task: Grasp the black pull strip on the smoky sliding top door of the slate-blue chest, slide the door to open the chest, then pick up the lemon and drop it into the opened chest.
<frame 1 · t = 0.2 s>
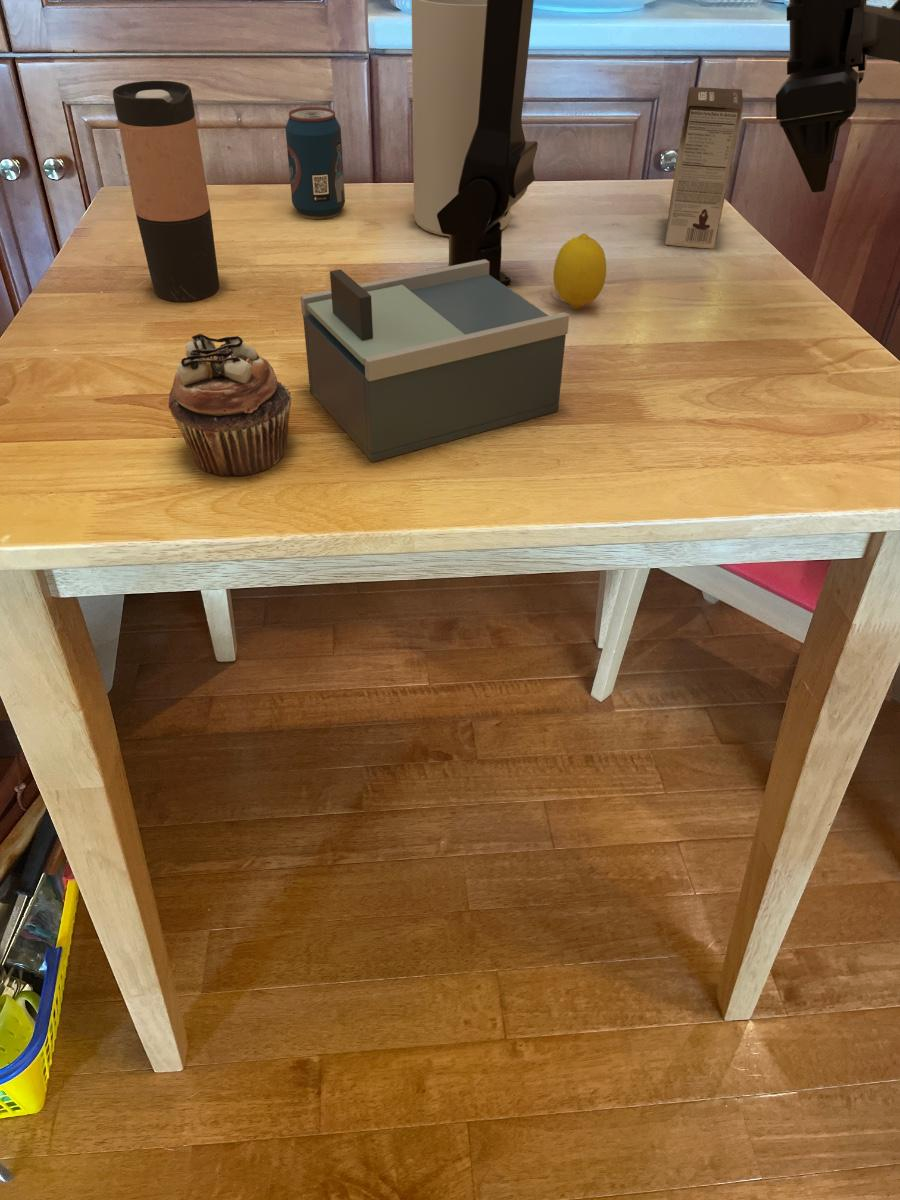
hand: (822, 177, 87), 15 cm above the table, tool pointing down, fingers open, 9 cm apart
chest: (432, 401, 85), on the table
soda can: (319, 213, 123), on the table
travel mug: (187, 290, 103), on the table
slide door: (383, 301, 76), point 10 cm above the table, slide at 0.0 cm
lemon: (575, 310, 101), on the table
cupcake: (239, 453, 78), on the table
coffee box: (690, 236, 118), on the table
cylinder vase: (461, 224, 121), on the table
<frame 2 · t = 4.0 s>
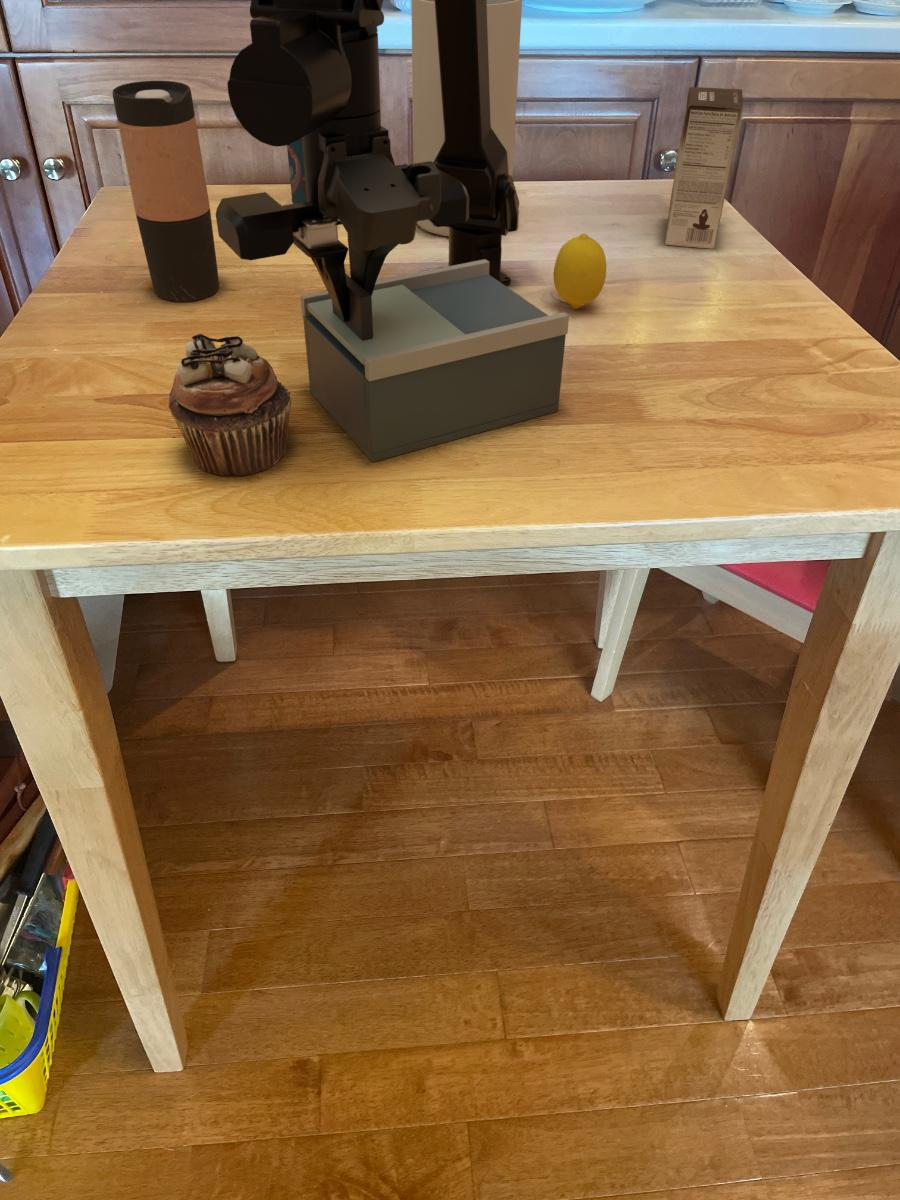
hand: (352, 318, 76), 10 cm above the table, tool pointing down, fingers closed on slide door
slide door: (383, 301, 76), point 10 cm above the table, slide at 0.0 cm, touching gripper
everything else where it was.
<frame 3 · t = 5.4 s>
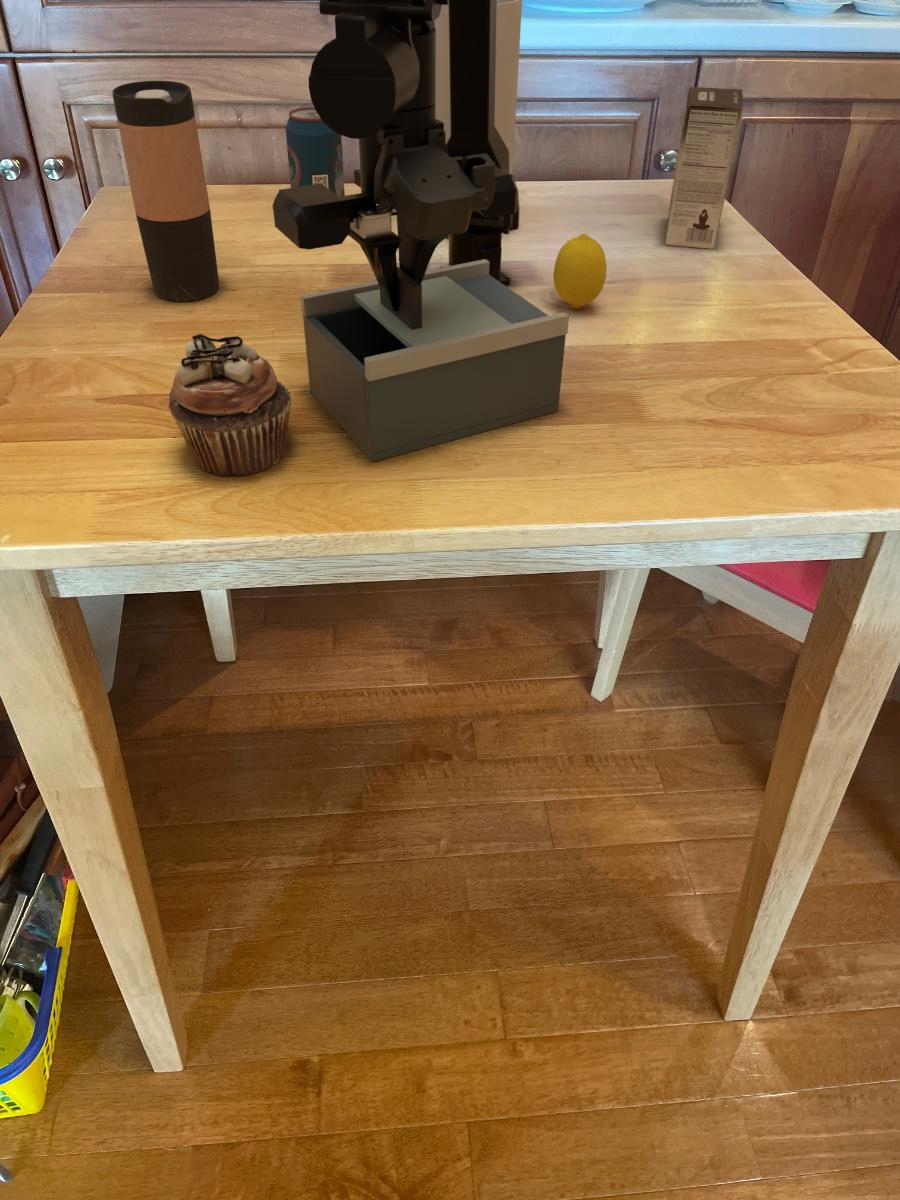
hand: (400, 308, 77), 10 cm above the table, tool pointing down, fingers closed on slide door
slide door: (431, 291, 78), point 10 cm above the table, slide at 4.5 cm, touching gripper
everything else where it was.
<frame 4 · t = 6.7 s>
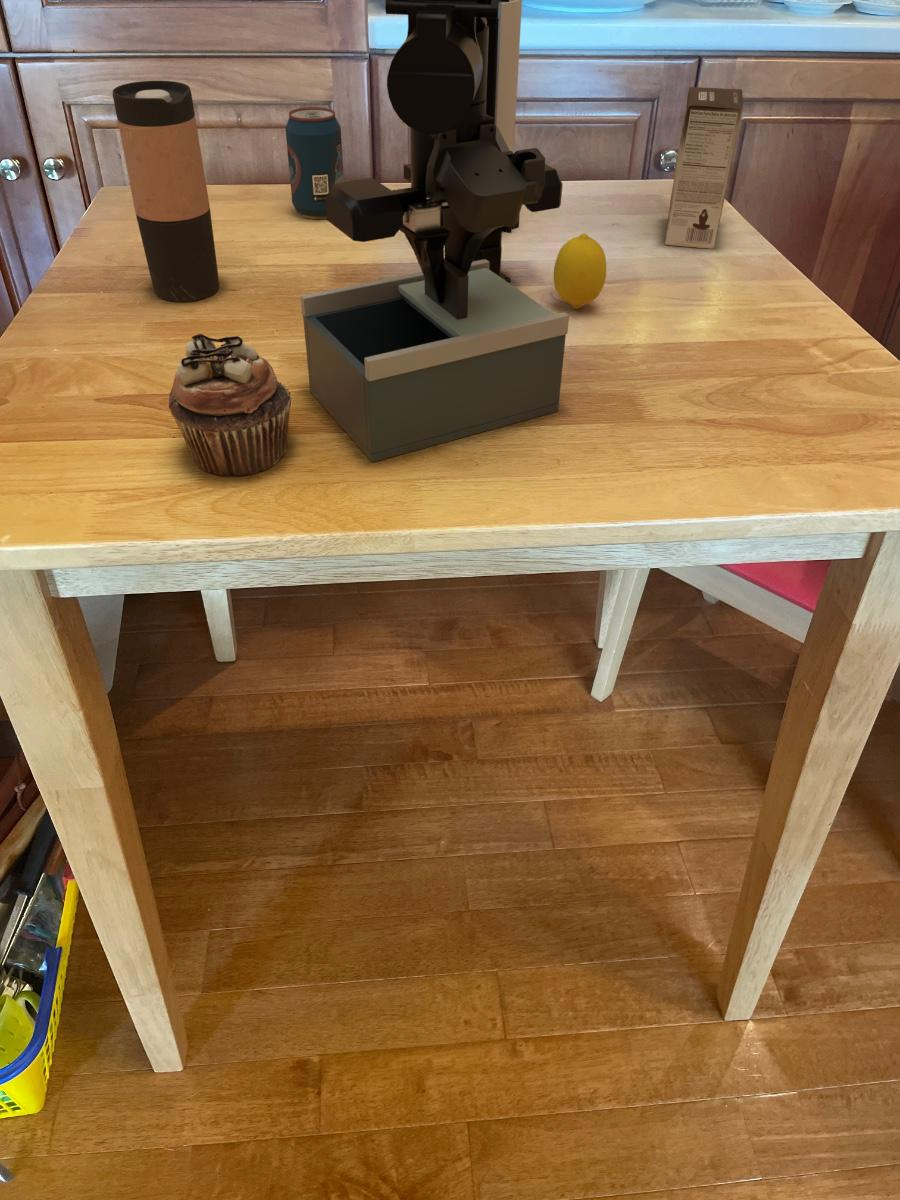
hand: (445, 300, 79), 9 cm above the table, tool pointing down, fingers closed
slide door: (475, 282, 80), point 10 cm above the table, slide at 8.7 cm
everything else where it was.
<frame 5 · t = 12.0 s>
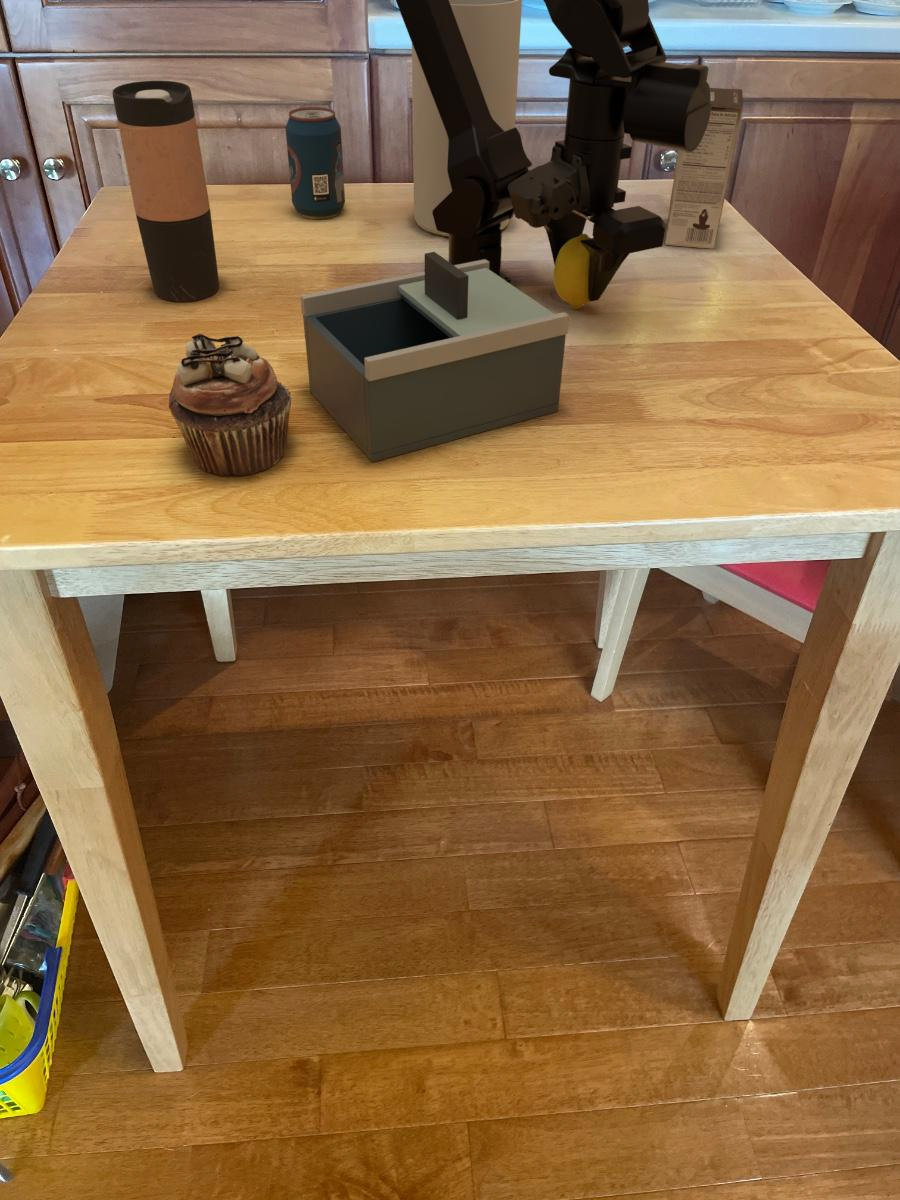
hand: (577, 290, 99), 2 cm above the table, tool pointing down, fingers closed on lemon, 5 cm apart
lemon: (575, 310, 101), on the table, touching gripper
everything else where it was.
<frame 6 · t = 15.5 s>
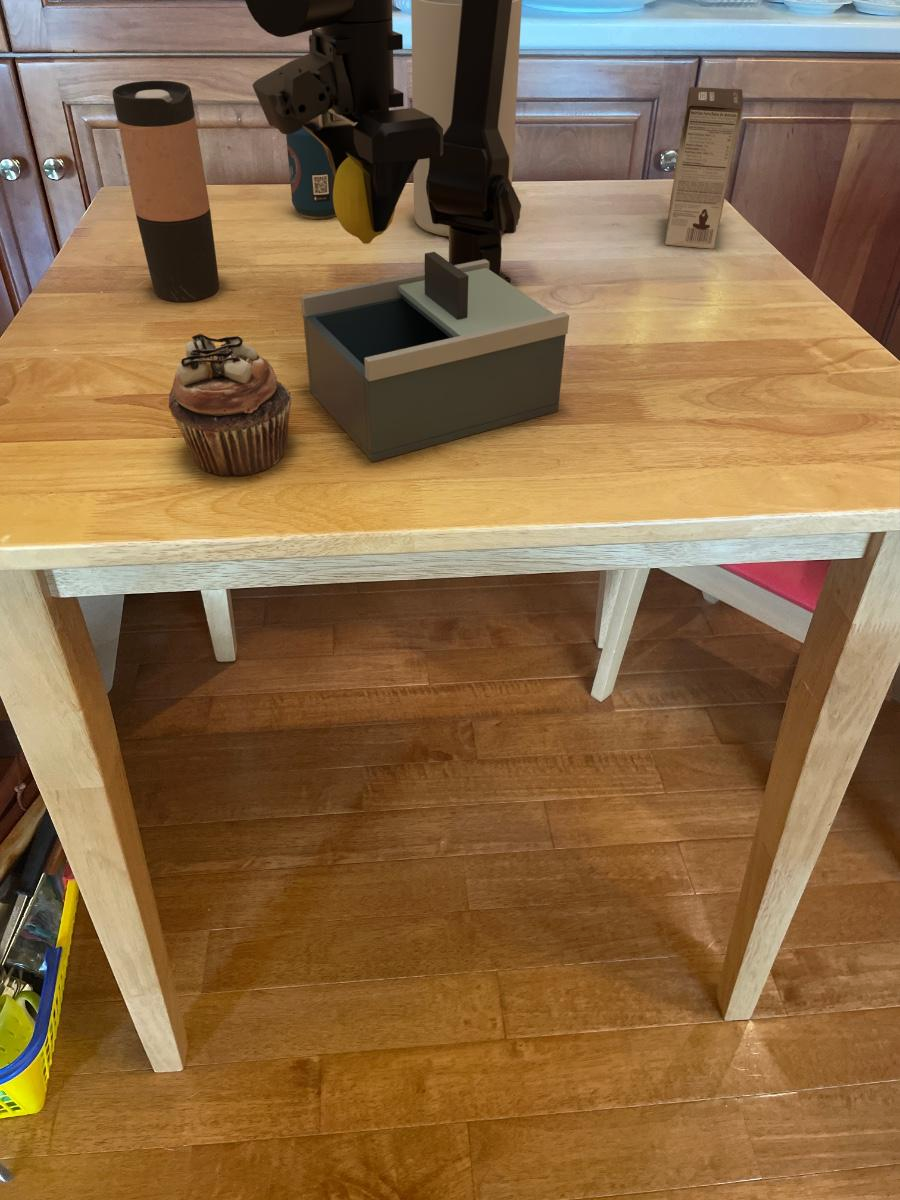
hand: (364, 220, 83), 13 cm above the table, tool pointing down, fingers closed on lemon, 5 cm apart
lemon: (366, 245, 84), point 11 cm above the table, touching gripper
everything else where it was.
when the fingers open (6 cm above the table, at t = 19.1 s): lemon drops 2 cm, resting on chest.
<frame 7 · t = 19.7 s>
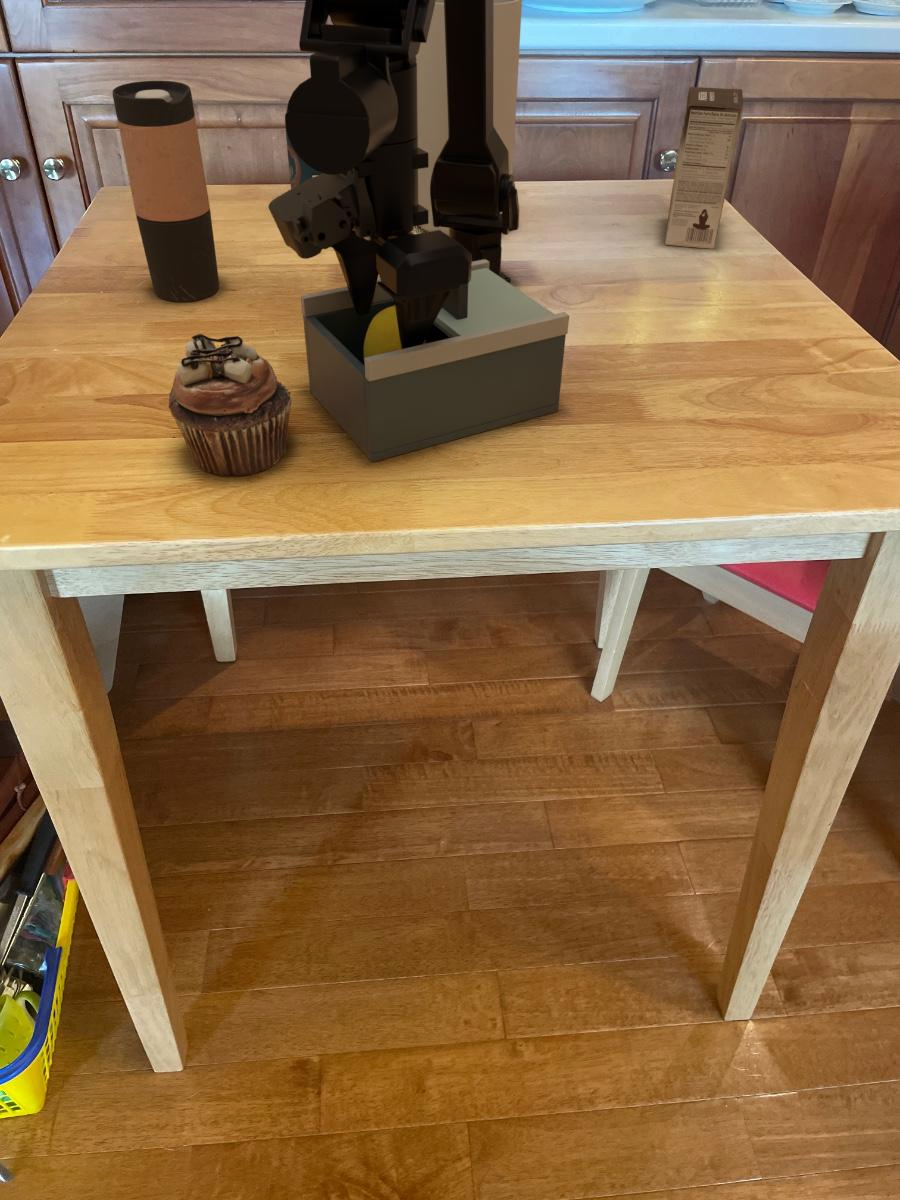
hand: (385, 334, 78), 7 cm above the table, tool pointing down, fingers open, 9 cm apart
lemon: (388, 396, 82), point 1 cm above the table, touching chest
everything else where it was.
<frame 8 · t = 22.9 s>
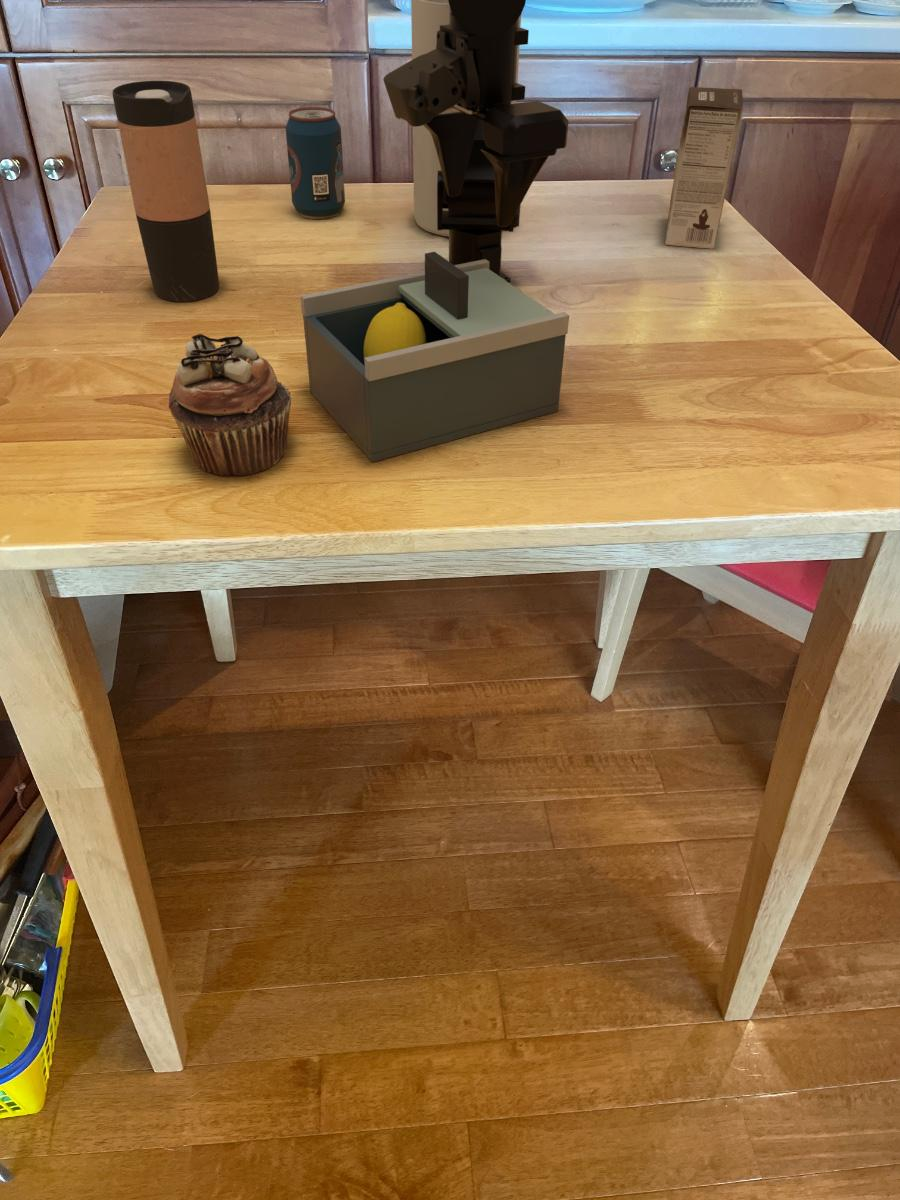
hand: (477, 210, 86), 13 cm above the table, tool pointing down, fingers open, 9 cm apart
nothing on the table moved.
at the end: slide door slide at 8.8 cm; lemon inside the target area on the chest (0.4 cm from its centre), point 1.5 cm above the chest's base; the gripper is holding nothing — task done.
